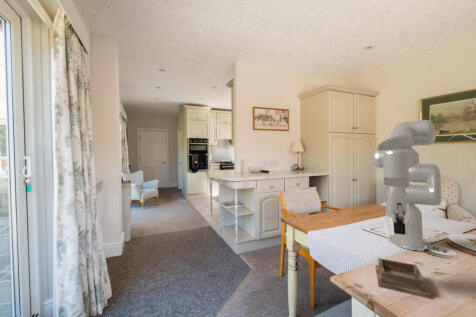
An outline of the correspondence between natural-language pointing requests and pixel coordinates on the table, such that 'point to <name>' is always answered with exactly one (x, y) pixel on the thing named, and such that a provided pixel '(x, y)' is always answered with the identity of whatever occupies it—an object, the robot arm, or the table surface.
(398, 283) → the brown wooden tray
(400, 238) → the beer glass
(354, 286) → the table surface
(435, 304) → the table surface
